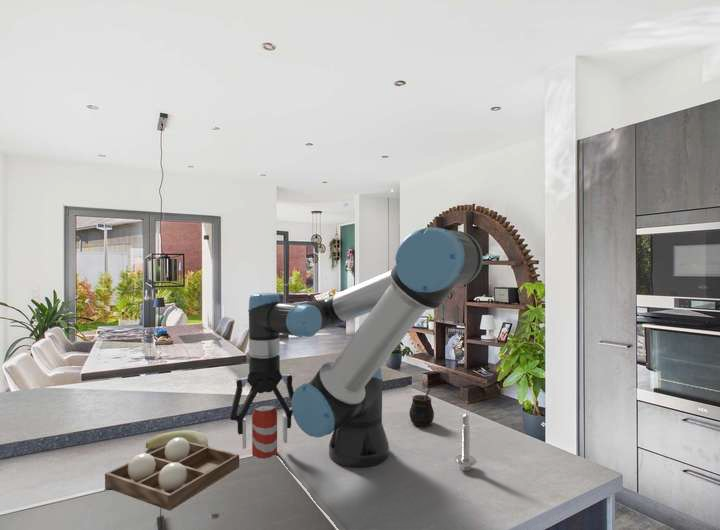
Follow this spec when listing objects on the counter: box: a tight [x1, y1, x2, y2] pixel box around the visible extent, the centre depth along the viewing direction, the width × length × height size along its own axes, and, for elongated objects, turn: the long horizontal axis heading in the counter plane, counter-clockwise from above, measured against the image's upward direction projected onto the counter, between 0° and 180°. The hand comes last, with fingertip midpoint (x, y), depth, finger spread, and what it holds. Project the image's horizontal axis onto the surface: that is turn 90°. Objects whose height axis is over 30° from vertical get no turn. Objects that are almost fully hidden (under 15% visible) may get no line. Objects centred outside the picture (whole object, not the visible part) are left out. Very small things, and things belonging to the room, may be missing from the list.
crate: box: [104, 442, 240, 512], centre depth 99 cm, size 20×20×3 cm
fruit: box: [145, 429, 209, 450], centre depth 116 cm, size 7×15×3 cm, turn 93°
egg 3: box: [158, 462, 187, 492], centre depth 93 cm, size 6×6×6 cm
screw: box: [454, 413, 477, 472], centre depth 103 cm, size 13×5×5 cm
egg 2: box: [165, 437, 190, 462], centre depth 106 cm, size 6×6×6 cm
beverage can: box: [251, 403, 278, 459], centre depth 111 cm, size 6×6×12 cm
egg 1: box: [128, 452, 156, 481], centre depth 97 cm, size 6×6×6 cm
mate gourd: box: [409, 387, 435, 428], centre depth 131 cm, size 7×8×10 cm
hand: (264, 443), depth 111 cm, fingers open, 9 cm apart
